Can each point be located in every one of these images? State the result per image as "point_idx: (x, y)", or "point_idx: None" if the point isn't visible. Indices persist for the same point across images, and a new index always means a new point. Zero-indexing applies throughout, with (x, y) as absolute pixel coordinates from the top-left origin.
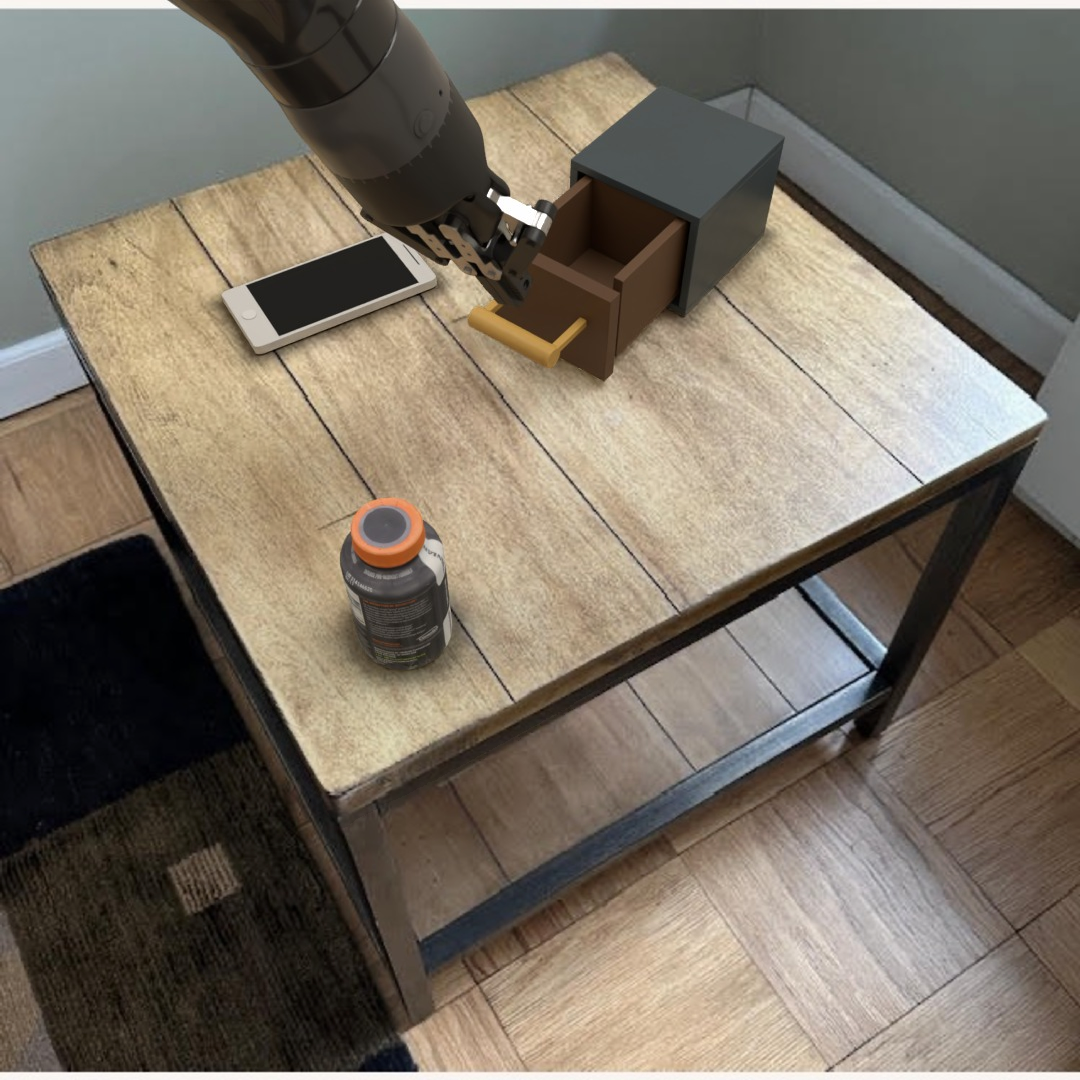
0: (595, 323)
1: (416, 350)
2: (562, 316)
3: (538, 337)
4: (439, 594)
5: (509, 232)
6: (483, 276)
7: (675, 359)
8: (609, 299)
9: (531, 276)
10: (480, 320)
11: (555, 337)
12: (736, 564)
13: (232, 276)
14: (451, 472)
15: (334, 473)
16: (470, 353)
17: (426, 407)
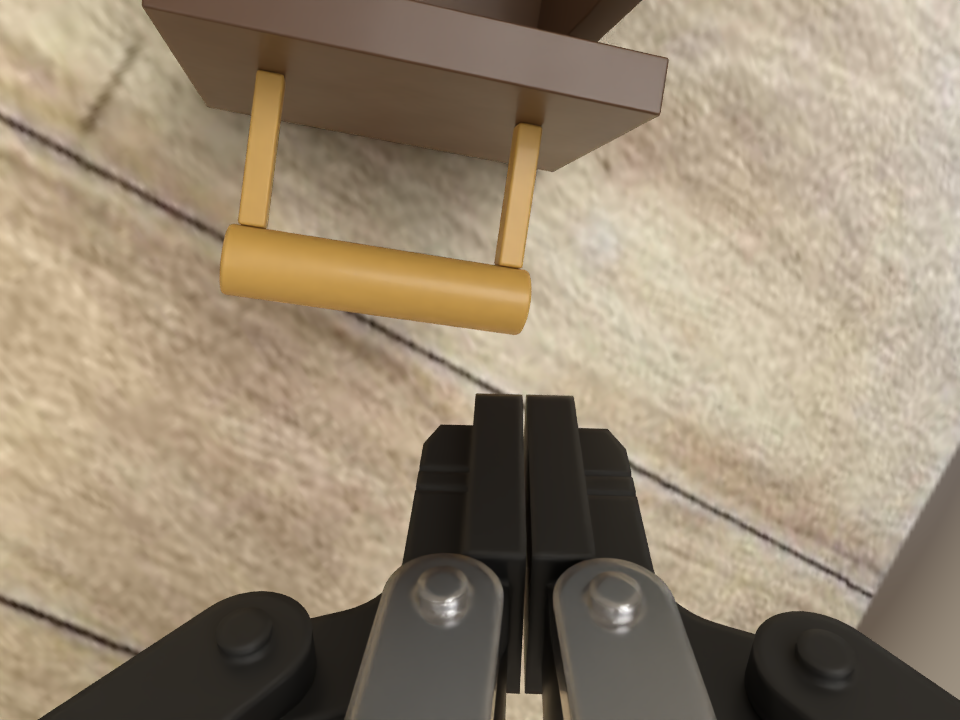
0: (572, 130)
1: (60, 272)
2: (450, 116)
3: (464, 274)
4: None
5: (704, 690)
6: (510, 690)
7: (647, 3)
8: (653, 104)
9: (627, 458)
10: (268, 290)
11: (416, 132)
12: (926, 458)
13: None
14: (365, 558)
15: None
16: (197, 214)
17: (203, 427)
